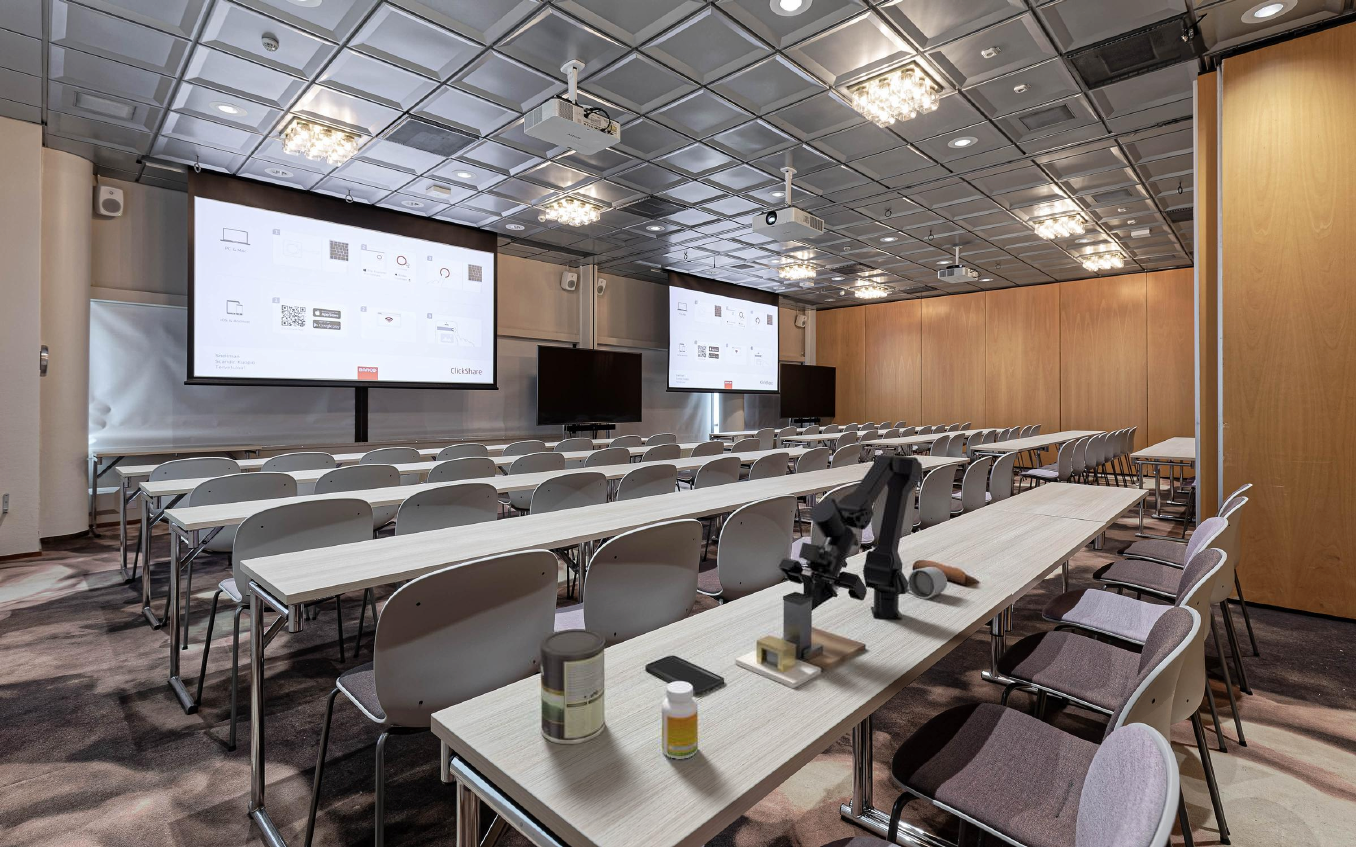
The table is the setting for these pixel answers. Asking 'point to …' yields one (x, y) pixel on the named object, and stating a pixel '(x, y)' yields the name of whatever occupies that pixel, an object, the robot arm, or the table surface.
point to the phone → (685, 674)
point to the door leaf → (832, 649)
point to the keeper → (780, 647)
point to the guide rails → (813, 652)
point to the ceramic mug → (927, 582)
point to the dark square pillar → (796, 624)
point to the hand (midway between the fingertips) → (804, 612)
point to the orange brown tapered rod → (947, 572)
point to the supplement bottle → (679, 721)
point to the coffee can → (572, 686)
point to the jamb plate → (789, 678)
